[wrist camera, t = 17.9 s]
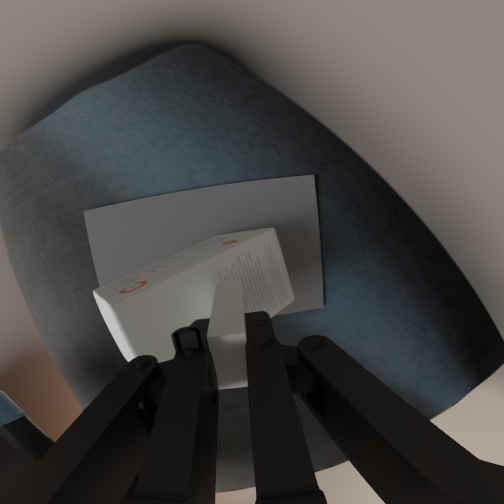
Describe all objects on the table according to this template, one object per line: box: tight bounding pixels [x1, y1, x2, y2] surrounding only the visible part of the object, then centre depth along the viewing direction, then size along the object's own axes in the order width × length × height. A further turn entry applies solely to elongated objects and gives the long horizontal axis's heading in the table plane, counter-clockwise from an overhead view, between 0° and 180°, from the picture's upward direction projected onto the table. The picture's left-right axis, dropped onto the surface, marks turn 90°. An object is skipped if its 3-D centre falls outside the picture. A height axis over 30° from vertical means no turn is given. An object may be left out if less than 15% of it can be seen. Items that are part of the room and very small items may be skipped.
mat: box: [84, 175, 324, 316], centre depth 28 cm, size 24×14×1 cm, turn 97°
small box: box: [93, 228, 295, 363], centre depth 21 cm, size 8×6×13 cm
